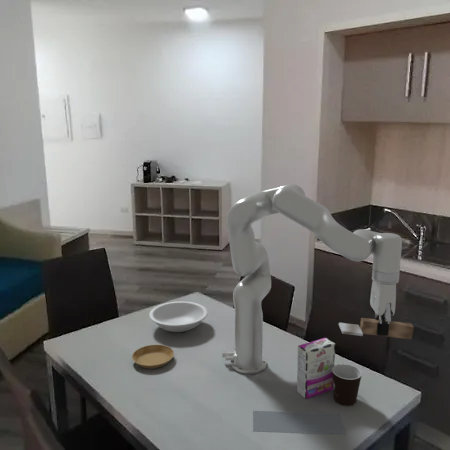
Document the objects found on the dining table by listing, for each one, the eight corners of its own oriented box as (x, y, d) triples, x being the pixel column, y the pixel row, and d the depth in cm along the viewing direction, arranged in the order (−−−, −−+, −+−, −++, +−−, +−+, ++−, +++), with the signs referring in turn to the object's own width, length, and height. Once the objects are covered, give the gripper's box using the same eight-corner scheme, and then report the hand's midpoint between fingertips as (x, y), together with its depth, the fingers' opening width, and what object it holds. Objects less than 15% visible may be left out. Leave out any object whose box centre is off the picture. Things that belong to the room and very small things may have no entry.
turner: (342, 333, 134) (344, 321, 133) (338, 324, 140) (340, 312, 139) (413, 342, 133) (416, 329, 132) (406, 333, 139) (409, 321, 138)
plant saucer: (132, 374, 152) (132, 367, 152) (132, 353, 167) (131, 346, 166) (176, 369, 156) (176, 362, 155) (172, 348, 170) (171, 342, 169)
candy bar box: (323, 382, 147) (325, 336, 143) (333, 390, 143) (336, 343, 139) (295, 392, 142) (297, 344, 138) (305, 400, 138) (307, 351, 134)
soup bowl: (159, 313, 200) (158, 299, 199) (212, 316, 197) (212, 302, 195) (142, 338, 177) (141, 323, 176) (202, 342, 174) (201, 327, 172)
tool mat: (253, 432, 123) (253, 431, 123) (253, 412, 132) (253, 410, 132) (345, 436, 122) (345, 434, 122) (339, 415, 131) (339, 413, 131)
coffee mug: (354, 413, 132) (357, 382, 129) (326, 403, 136) (328, 374, 134) (365, 393, 141) (367, 364, 139) (338, 385, 146) (340, 357, 143)
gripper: (365, 266, 140) (362, 321, 145) (380, 284, 125) (375, 345, 129) (390, 266, 140) (386, 321, 144) (407, 284, 124) (402, 345, 129)
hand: (381, 332), depth 136 cm, fingers closed on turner, 2 cm apart
